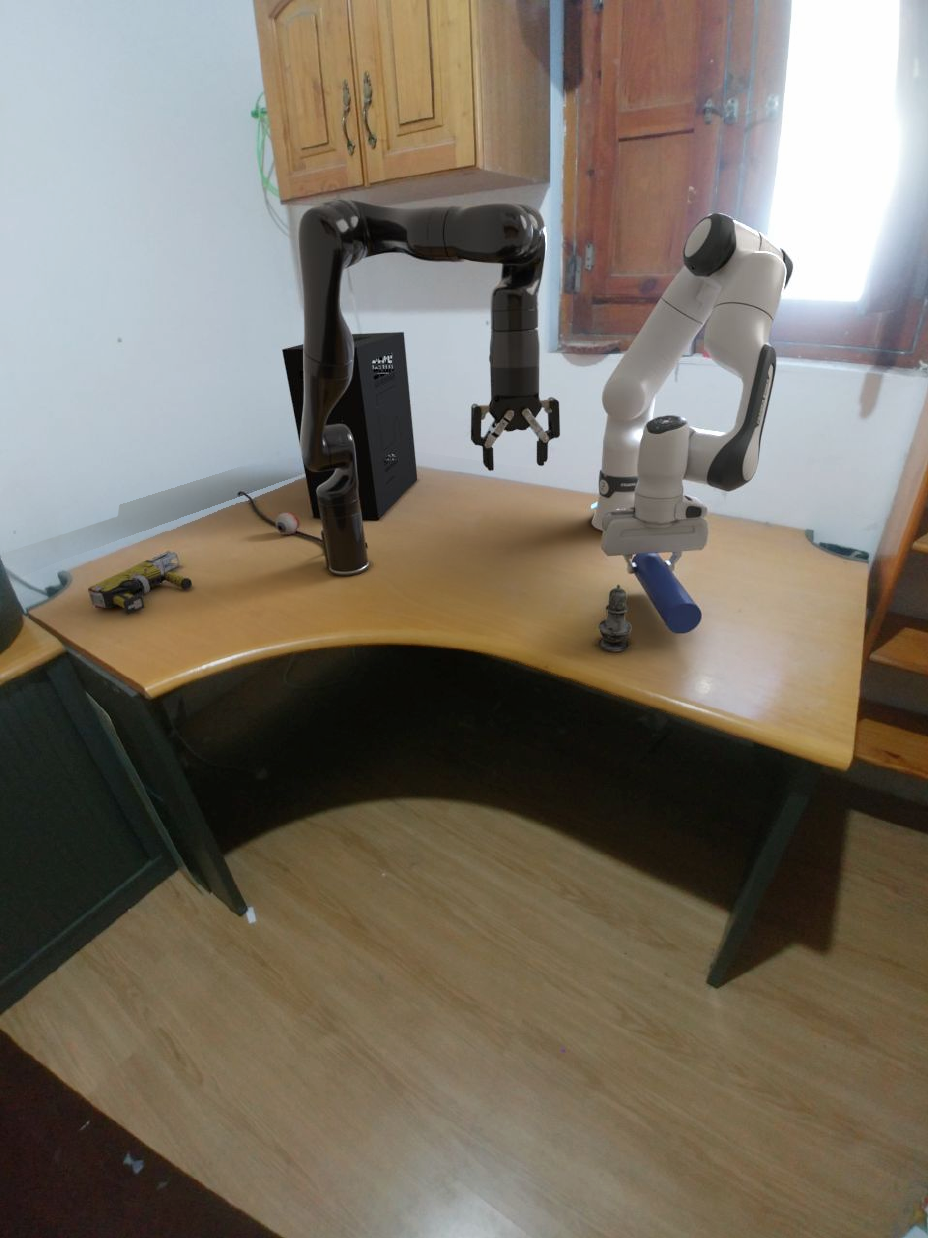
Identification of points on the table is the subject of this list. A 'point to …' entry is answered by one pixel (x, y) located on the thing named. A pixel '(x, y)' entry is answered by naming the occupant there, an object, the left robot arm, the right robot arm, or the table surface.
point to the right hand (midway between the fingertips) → (650, 571)
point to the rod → (666, 593)
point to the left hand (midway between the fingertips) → (515, 467)
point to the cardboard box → (368, 420)
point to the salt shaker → (615, 623)
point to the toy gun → (136, 583)
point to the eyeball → (287, 523)
